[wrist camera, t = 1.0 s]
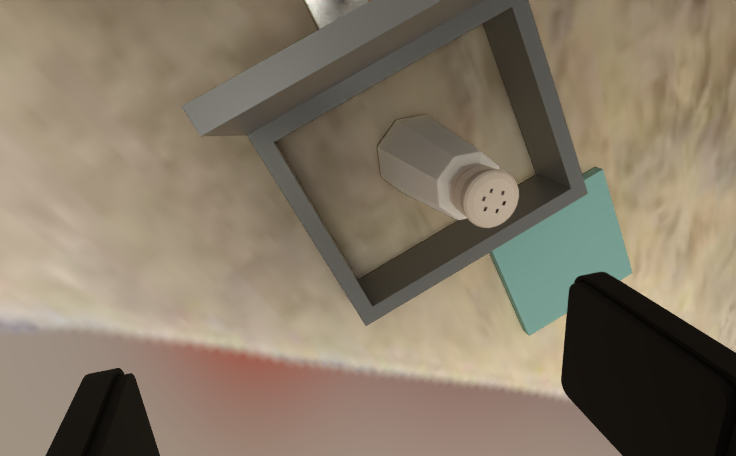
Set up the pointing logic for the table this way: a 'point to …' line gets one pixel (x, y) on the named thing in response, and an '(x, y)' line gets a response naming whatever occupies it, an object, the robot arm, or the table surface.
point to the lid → (317, 64)
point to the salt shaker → (446, 172)
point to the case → (462, 239)
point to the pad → (562, 255)
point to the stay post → (331, 9)
